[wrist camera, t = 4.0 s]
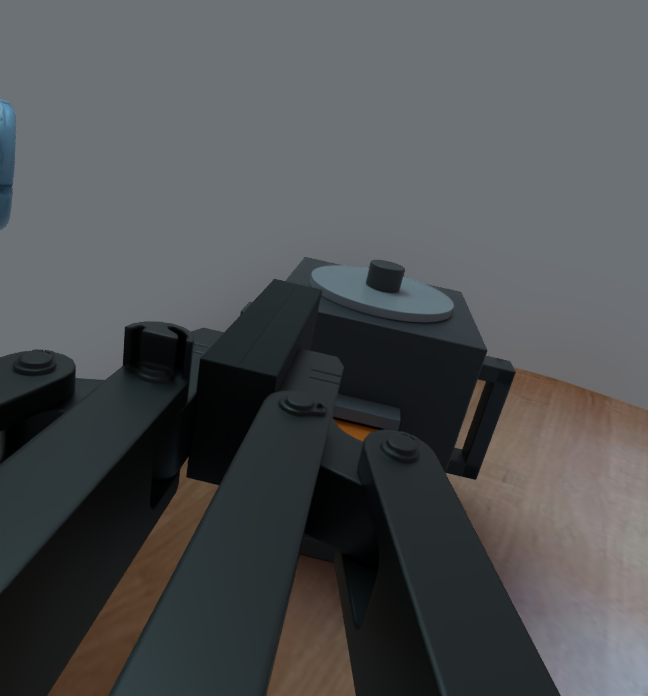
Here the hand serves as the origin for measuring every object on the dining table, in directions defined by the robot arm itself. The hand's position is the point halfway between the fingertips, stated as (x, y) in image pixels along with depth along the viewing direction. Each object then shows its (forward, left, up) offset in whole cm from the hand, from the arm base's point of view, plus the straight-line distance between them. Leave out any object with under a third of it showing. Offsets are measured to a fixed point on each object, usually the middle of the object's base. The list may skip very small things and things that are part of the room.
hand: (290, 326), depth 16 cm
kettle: (+3, +21, -21) cm, 30 cm away
